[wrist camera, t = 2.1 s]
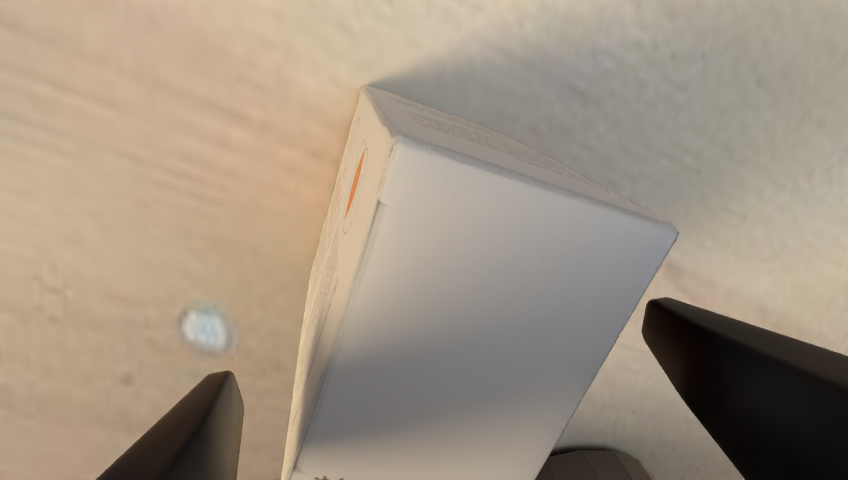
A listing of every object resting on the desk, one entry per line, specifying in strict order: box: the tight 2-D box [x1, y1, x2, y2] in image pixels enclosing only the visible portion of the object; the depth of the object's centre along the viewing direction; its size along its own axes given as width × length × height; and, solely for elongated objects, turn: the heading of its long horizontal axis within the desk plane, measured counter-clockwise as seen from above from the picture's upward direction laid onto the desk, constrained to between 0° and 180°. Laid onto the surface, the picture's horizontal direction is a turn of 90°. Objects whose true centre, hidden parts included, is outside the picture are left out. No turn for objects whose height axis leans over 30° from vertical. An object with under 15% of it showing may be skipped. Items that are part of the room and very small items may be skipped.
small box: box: [281, 85, 679, 480], centre depth 13 cm, size 8×6×10 cm
